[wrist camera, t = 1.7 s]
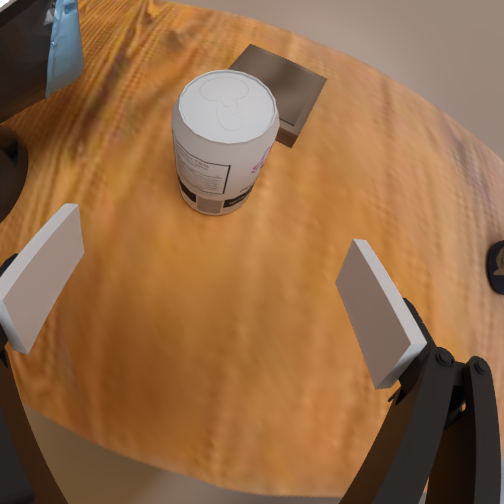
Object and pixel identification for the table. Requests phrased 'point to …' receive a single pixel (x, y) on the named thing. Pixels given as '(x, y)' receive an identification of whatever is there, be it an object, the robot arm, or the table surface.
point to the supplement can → (222, 138)
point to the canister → (497, 266)
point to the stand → (283, 88)
